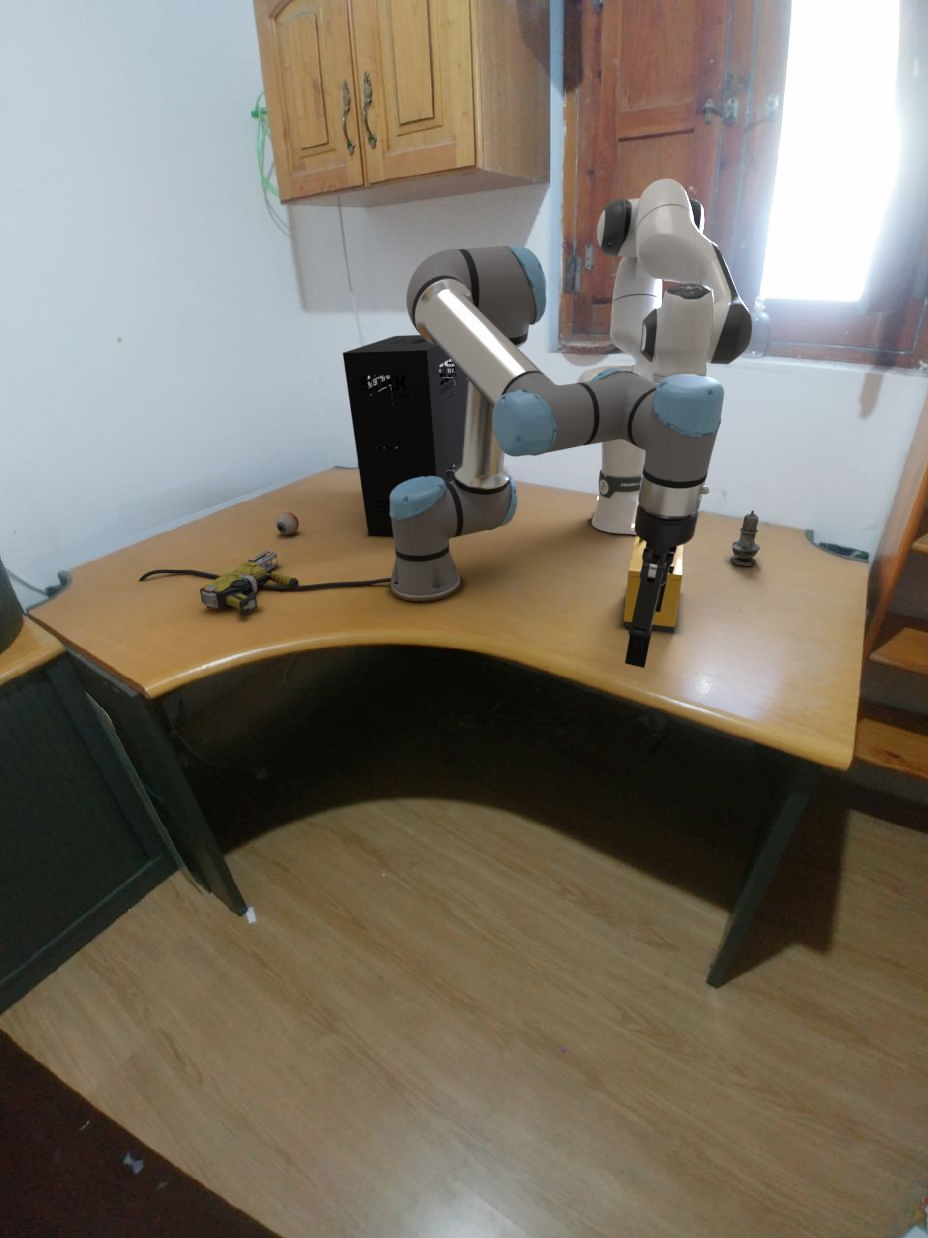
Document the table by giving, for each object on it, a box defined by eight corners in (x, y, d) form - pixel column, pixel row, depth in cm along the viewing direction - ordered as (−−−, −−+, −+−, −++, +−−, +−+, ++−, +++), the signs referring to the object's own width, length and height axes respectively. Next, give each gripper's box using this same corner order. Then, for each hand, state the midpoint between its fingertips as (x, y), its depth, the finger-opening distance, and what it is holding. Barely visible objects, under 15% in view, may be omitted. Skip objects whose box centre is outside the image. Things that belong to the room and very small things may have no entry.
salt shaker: (759, 566, 133) (770, 515, 127) (731, 565, 134) (740, 514, 128) (754, 555, 138) (764, 505, 132) (726, 555, 139) (735, 505, 133)
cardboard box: (441, 538, 157) (426, 350, 134) (368, 534, 161) (342, 352, 139) (472, 491, 188) (464, 333, 166) (410, 490, 193) (395, 335, 170)
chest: (630, 590, 127) (634, 543, 122) (676, 594, 124) (682, 546, 119) (623, 626, 115) (627, 576, 109) (674, 632, 112) (681, 581, 107)
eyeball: (273, 537, 164) (268, 516, 161) (287, 528, 169) (282, 508, 166) (291, 539, 161) (286, 518, 158) (305, 530, 166) (301, 510, 163)
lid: (635, 541, 122) (639, 499, 118) (682, 545, 120) (688, 502, 115) (627, 575, 109) (632, 530, 105) (681, 580, 107) (688, 534, 102)
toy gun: (318, 559, 142) (264, 548, 146) (255, 602, 122) (194, 588, 125) (320, 577, 144) (266, 565, 148) (258, 622, 124) (198, 608, 128)
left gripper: (686, 562, 66) (655, 698, 79) (709, 470, 84) (681, 594, 97) (617, 550, 69) (599, 683, 82) (654, 463, 87) (634, 585, 100)
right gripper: (660, 381, 114) (652, 454, 121) (654, 402, 97) (646, 485, 104) (696, 381, 112) (686, 455, 119) (696, 402, 95) (684, 487, 102)
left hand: (643, 635), depth 90 cm, fingers open, 13 cm apart
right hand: (667, 469), depth 112 cm, fingers open, 8 cm apart
